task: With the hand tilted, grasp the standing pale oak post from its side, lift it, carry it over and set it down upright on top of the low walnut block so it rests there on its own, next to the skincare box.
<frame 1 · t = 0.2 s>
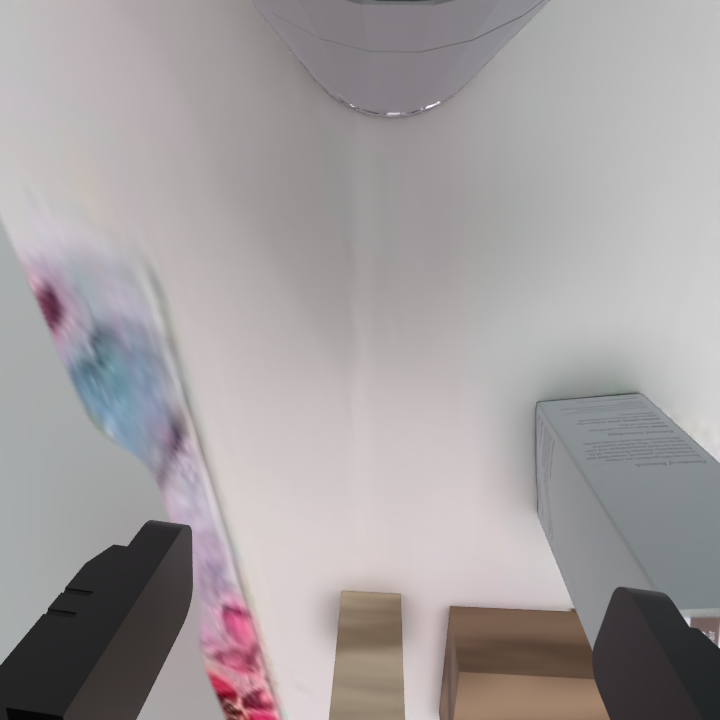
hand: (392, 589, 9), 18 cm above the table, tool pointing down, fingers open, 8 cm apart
oak post: (370, 616, 34), on the table
walnut block: (519, 662, 36), on the table
skincare box: (581, 451, 29), on the table
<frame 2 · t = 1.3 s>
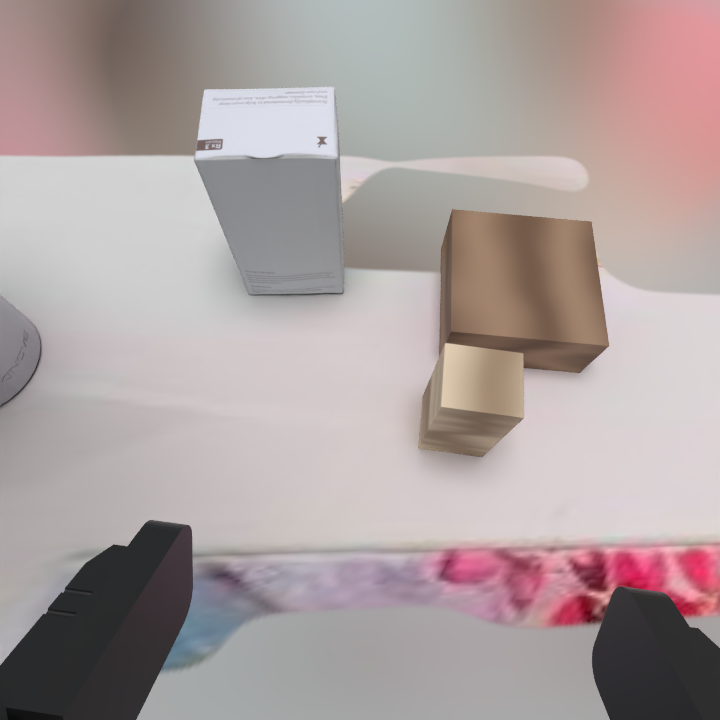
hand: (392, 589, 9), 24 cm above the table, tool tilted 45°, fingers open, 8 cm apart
oak post: (451, 426, 36), on the table
walnut block: (505, 308, 41), on the table
skincare box: (294, 269, 42), on the table
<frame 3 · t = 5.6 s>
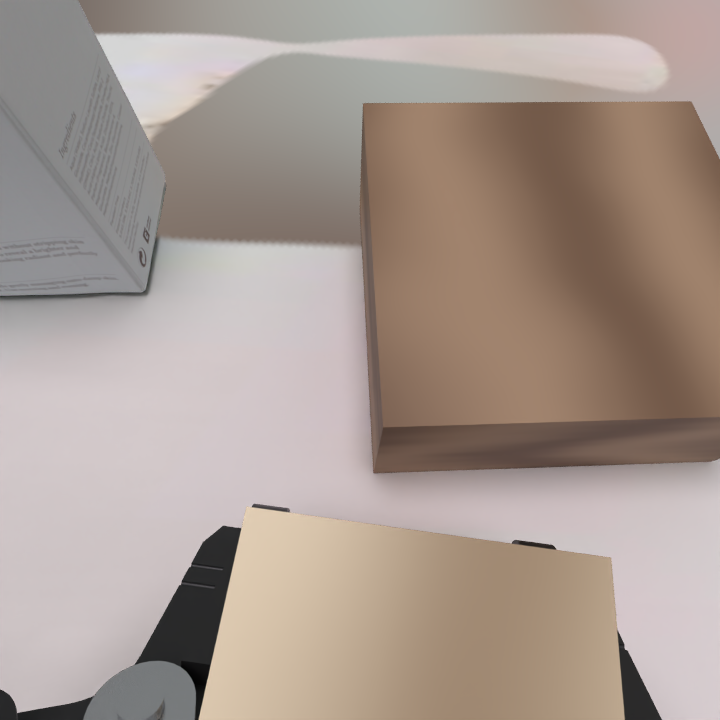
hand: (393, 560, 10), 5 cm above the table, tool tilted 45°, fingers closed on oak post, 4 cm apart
oak post: (373, 644, 13), on the table, touching gripper
walnut block: (512, 322, 18), on the table
skincare box: (54, 244, 19), on the table
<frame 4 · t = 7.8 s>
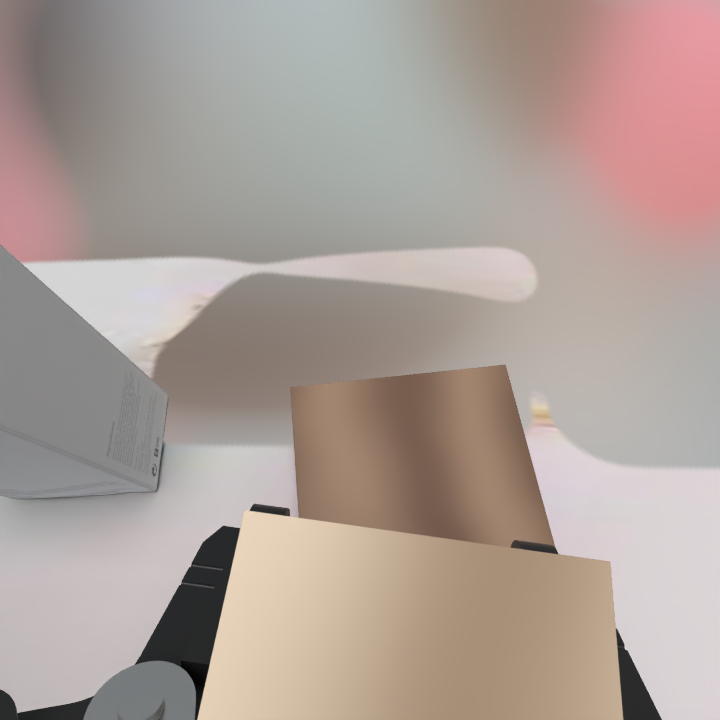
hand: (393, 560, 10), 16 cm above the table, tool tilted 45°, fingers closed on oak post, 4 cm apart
oak post: (372, 646, 13), point 12 cm above the table, touching gripper
walnut block: (406, 503, 27), on the table
skincare box: (91, 449, 28), on the table
when the fingers open (11 cm above the table, at t = 10.0 s): oak post drops 1 cm, resting on walnut block.
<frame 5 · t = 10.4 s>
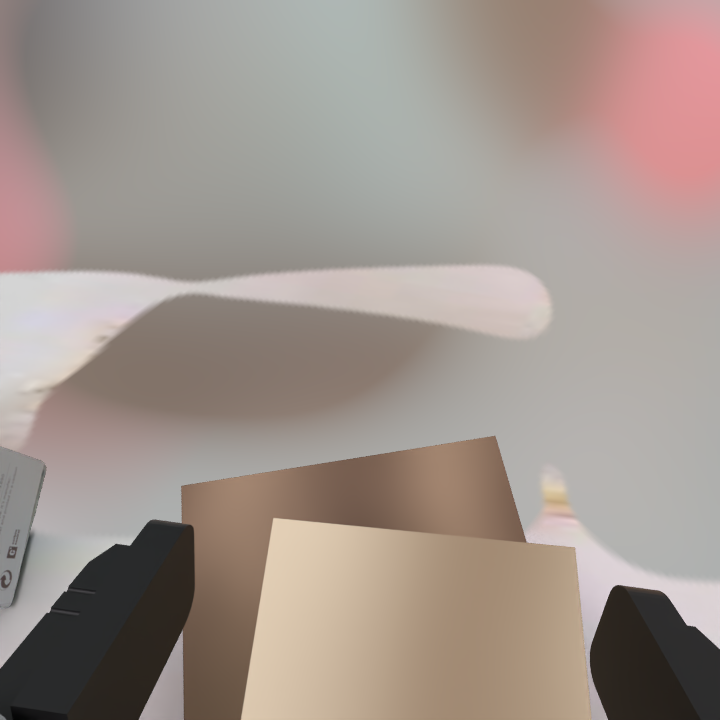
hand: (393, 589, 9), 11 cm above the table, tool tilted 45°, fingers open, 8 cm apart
oak post: (378, 637, 15), point 5 cm above the table, touching walnut block
walnut block: (365, 628, 19), on the table, touching oak post
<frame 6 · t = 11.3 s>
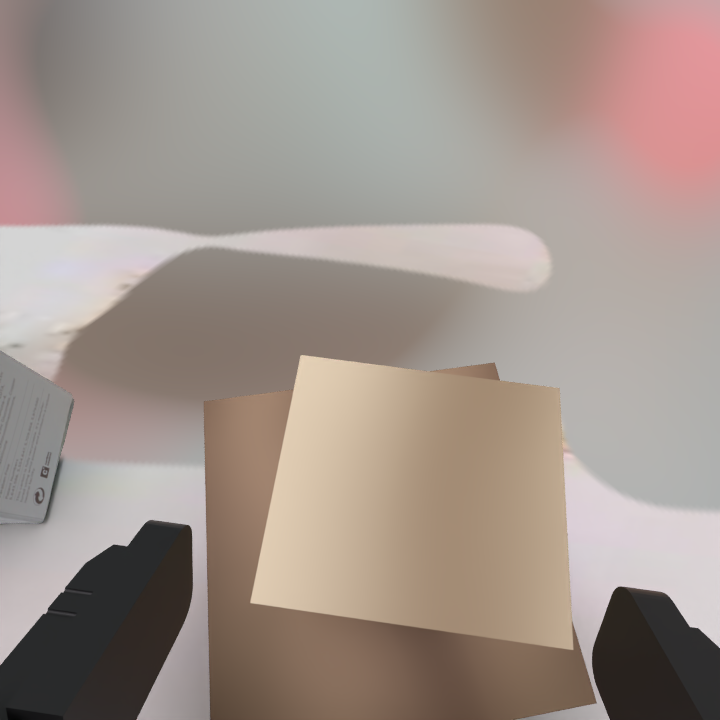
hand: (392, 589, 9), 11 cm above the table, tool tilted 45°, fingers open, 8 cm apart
oak post: (382, 541, 16), point 5 cm above the table
walnut block: (370, 547, 21), on the table
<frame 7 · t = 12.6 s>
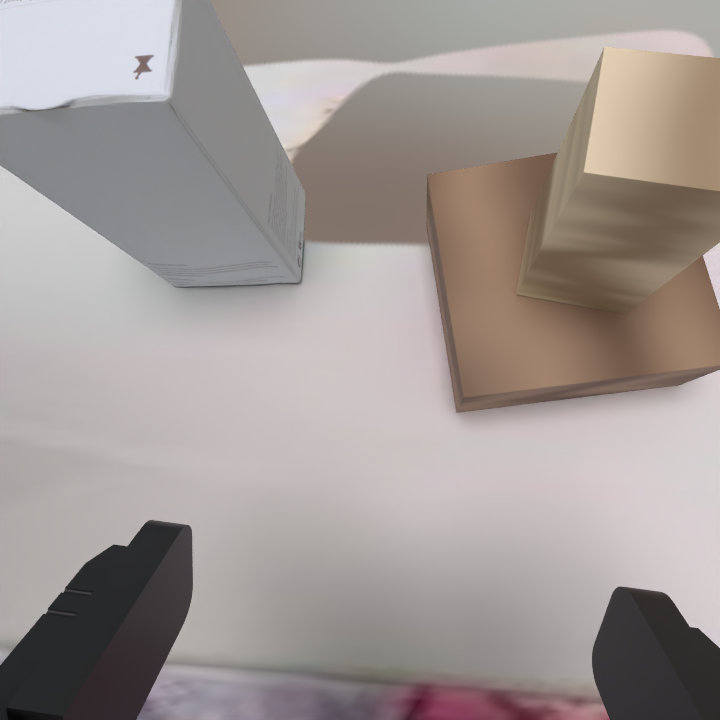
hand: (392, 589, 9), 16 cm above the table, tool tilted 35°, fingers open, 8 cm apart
oak post: (576, 262, 22), point 5 cm above the table
walnut block: (541, 300, 27), on the table
skincare box: (238, 246, 29), on the table
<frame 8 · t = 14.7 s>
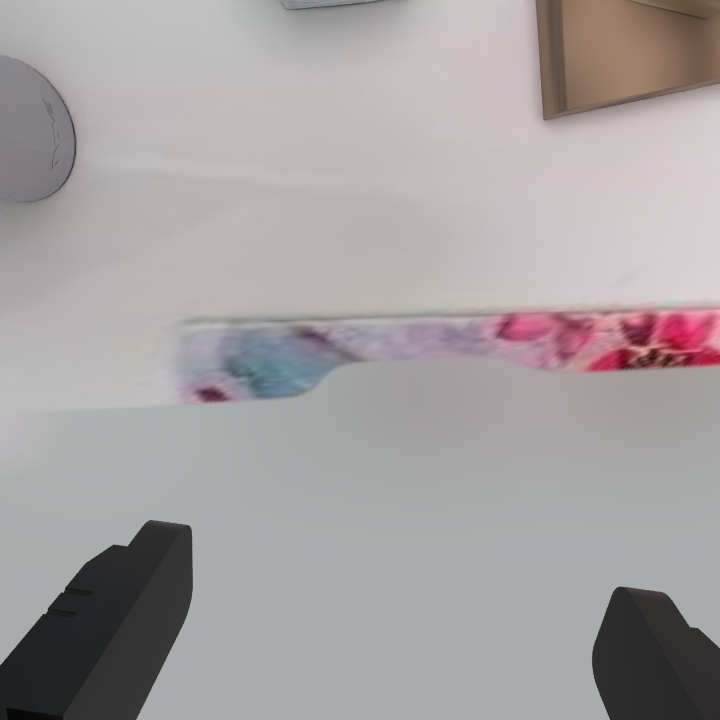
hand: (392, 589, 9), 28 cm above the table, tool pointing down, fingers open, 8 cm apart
walnut block: (629, 2, 29), on the table, touching oak post
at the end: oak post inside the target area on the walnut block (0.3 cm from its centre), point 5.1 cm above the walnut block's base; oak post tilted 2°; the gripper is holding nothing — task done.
